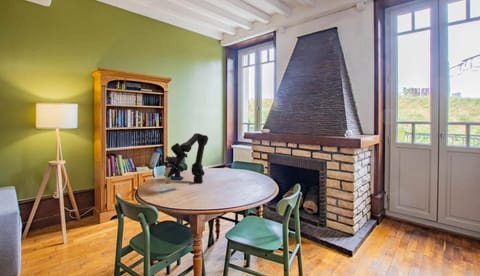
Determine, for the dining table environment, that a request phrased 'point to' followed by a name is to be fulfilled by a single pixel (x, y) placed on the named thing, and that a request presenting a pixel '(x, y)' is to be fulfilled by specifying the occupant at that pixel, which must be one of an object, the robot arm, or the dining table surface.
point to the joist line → (167, 190)
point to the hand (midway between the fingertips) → (166, 176)
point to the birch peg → (167, 179)
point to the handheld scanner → (177, 174)
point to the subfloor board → (162, 188)
